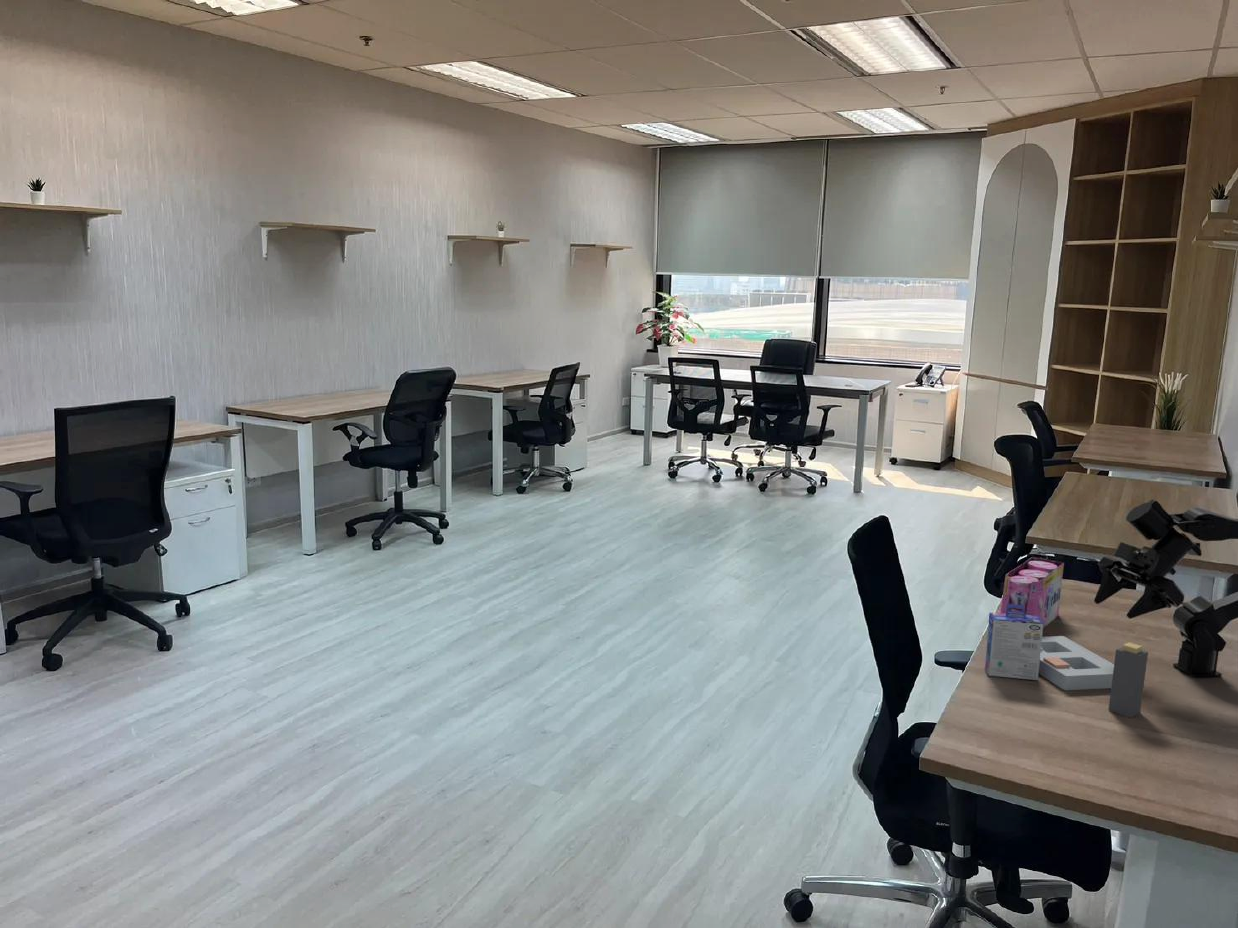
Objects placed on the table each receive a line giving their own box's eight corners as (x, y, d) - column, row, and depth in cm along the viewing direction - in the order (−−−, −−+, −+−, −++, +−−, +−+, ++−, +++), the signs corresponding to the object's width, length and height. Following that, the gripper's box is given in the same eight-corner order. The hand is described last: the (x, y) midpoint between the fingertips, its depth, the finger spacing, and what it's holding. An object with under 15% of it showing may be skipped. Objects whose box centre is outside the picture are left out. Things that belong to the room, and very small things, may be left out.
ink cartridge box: (1032, 671, 193) (1040, 604, 190) (1039, 681, 187) (1047, 613, 185) (982, 666, 195) (989, 600, 192) (987, 676, 189) (994, 608, 187)
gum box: (1031, 640, 211) (1037, 583, 209) (995, 632, 216) (1001, 576, 213) (1059, 615, 229) (1065, 562, 227) (1025, 608, 234) (1031, 556, 232)
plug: (1118, 704, 177) (1126, 640, 175) (1140, 712, 174) (1148, 646, 172) (1108, 709, 175) (1116, 644, 173) (1130, 717, 172) (1139, 651, 169)
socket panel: (1061, 648, 206) (1063, 633, 205) (1127, 687, 186) (1129, 670, 185) (1004, 651, 204) (1005, 635, 203) (1064, 690, 183) (1066, 673, 183)
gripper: (1110, 519, 198) (1059, 571, 198) (1179, 541, 180) (1124, 598, 180) (1137, 553, 201) (1087, 604, 201) (1208, 578, 183) (1153, 634, 183)
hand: (1111, 609), depth 191 cm, fingers open, 9 cm apart
